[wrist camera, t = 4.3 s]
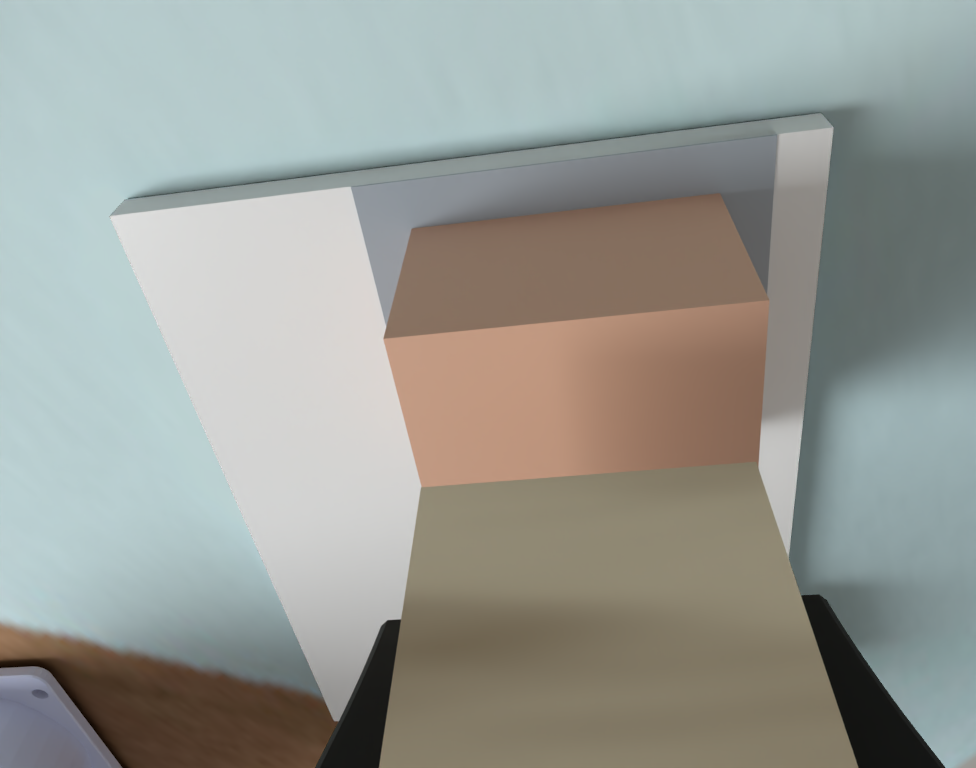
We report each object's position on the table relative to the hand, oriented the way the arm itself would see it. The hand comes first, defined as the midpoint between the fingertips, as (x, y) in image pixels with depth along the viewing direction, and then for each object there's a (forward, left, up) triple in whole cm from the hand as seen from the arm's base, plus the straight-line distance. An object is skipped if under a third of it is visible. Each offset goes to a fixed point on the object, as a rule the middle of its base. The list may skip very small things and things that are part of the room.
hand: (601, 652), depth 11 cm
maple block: (0, 0, -1) cm, 1 cm away
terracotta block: (0, 0, -8) cm, 8 cm away
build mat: (-5, +2, -9) cm, 10 cm away
